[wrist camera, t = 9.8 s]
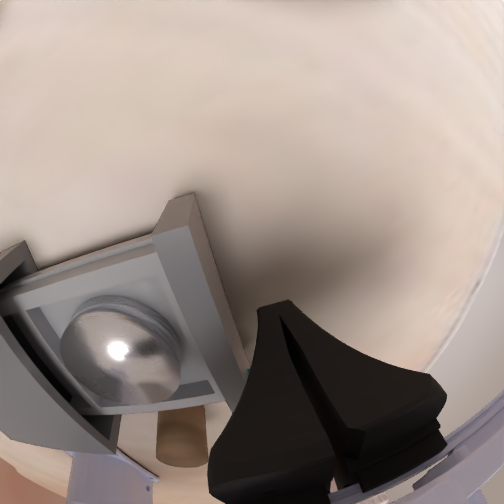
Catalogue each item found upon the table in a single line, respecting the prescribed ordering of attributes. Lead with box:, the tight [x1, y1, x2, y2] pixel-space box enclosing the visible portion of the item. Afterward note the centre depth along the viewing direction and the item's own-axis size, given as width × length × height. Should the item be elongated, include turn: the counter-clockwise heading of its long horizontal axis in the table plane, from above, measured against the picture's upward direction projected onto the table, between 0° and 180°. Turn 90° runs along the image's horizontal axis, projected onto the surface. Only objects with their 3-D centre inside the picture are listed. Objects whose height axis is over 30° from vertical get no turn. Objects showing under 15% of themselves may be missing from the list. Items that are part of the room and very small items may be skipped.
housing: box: [0, 240, 122, 455], centre depth 10 cm, size 12×12×4 cm
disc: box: [60, 296, 182, 405], centre depth 11 cm, size 6×6×2 cm
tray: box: [0, 193, 251, 415], centre depth 10 cm, size 12×11×4 cm
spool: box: [156, 405, 209, 467], centre depth 14 cm, size 3×3×4 cm
